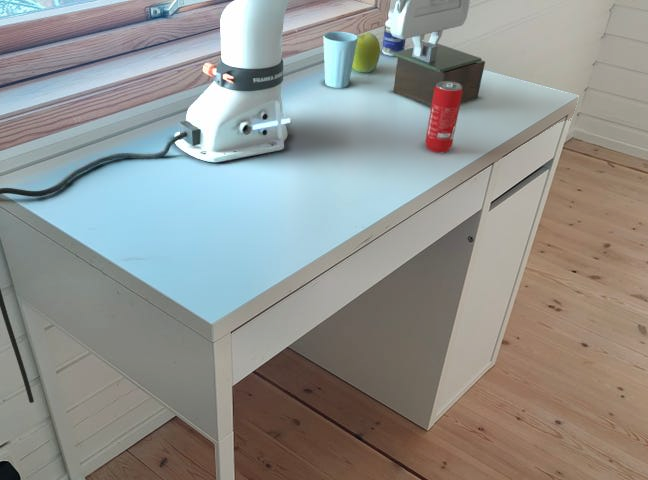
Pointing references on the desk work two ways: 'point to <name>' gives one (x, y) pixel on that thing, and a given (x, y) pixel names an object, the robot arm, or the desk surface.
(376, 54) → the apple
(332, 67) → the cup
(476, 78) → the wooden box
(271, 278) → the desk surface
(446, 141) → the beverage can
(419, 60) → the slide lid
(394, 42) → the pill bottle
